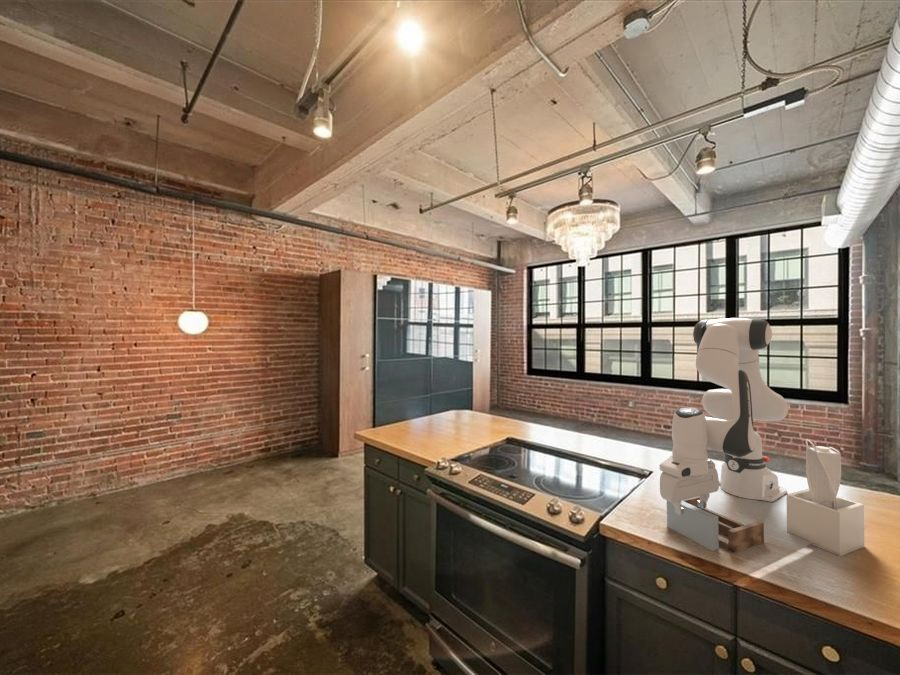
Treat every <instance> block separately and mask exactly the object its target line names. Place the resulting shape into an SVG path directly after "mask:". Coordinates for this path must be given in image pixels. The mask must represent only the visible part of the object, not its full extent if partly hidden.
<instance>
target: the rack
mask: <svg viewBox="0 0 900 675" xmlns="http://www.w3.org/2000/svg"><path fill="white" fill-rule="evenodd" d="M699 499H700V496H697V497H693V498H689V499H685V500H682V501H684V502H686V503H689V504H691V505H693V506H695V507H698V505H697V504H698V503H697V501H699ZM698 508H700V507H698ZM700 509H702V508H700ZM702 510H704V511H707V512H709V513H711V514H713V515H716V516H718V529H719V533H720V534H723V535H725V536H726V537H727V538H728V540H725V539H723V538H721V537H719V547H721V548H723V549H725V550H727V551H729V552H731V553H733V554H734V553H737V552H740V551H742V550H743V551H744V550H746V549H749V548H752V547H755V546H757V545H758V546H759V545H761V544H763V543H765V529H764V527H765V526H764V522H762V521H760V520H758V521H754V522H751V523H748V524H743V523H742V522H738V520H737V521H736V520H734V519H732V518H730V517H727V516H725V515H722V514H720V513H718V512H717V511H713V510H711V509H709V508H707V507H706V508H703V509H702Z"/></svg>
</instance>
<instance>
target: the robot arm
mask: <svg viewBox="0 0 900 675" xmlns="http://www.w3.org/2000/svg"><path fill="white" fill-rule="evenodd" d="M770 325H771V324H770V322H768V321H767V320H766V319H762V318H743V317H730V318H717V319H715V318H714V319H710V318H708V319H701V320H700V321H698V322H697V323H696V324H695V325H694V328H693V331H692V338H693V341H694V343H695V344H696V345H697V346H698V350H697V353H696V357H695V358H696V359H695V368H696V370H697V372H698V373H699V375H700V376H701V377H703V378H704V379H706V381H708V382H711V383H712V384H715V385H717V386H721V387H723V388H716V389H715V388H714V389H708V390H707V391H705V392H704V393H703V396H702V398H701V405H702V408H703V409H704V411H705V412H706V413H708V415H710V416H712V417H710V416H706V415H705V413H704V411H703V410H701V409H699V408H697V407H696V408H695V407H680V408H678V409H675V411H674V412H673V415H672V423H671V440H672V443H673V447H672V450H671V453H672V454H671V455H670V456H669V457H668V458H667V459H666V460H664V461H663V462H661V463H660V464H659V470H660V472H662V473H661V474H660V477H659V493H660V497H661V498H662V499H663V500H665V501H666V502H667V501H669V502H672V504H673V505H674V507H675V513H676V514H678V515H681V514H684V508H682V507H681V506H680V504H681V500H685V499H689V498H693V497H697V496H700V499H699V501H697V503H698V504H697V505H698V507H700V508H702V509H703V508H707V507H708V506H707V505H708V504H707V502H708V501H709V499H710V494H713V493H716V492H718V491H719V489H722V490H723V491H724V492H726V493H727V494H730V495H732V496H736V497H740V498H743V499H749V500H758V501H763V502H771V503H773V502H775V501H777V500H778V499H780V498H781V497H783V496H784V495H785V494H786V495H787V493H788V490H787V489H786V488H784V487H782V486H780V485H779V477H778V475H776V474H775V472H772V470H770V469H769V468H768V467H767V465H766V464H767V463H769V462H770V460H771V459H770V457H769V456H765V455H763V439H762V437H761V435H760V434H759V433H758V432H757V431H755V429H754V428H755V427H754V421H758V422H764V423H765V422H781V421H782V420H784V418H786V417H787V415H788V413H789V404H788V402H787V401H786V399H785V398H784V397H783V395H781V394H779V393H777V392H775V391H774V390H773V389H771V388H770V387H769V386H768V385H767V384H766V383H765V381H764V379H763V377H762V374H761V370H760V361H759V360H760V359H759V351H758V350H762V349H765V348H767V347H768V346H769V345H770V343H771V341H772V338H773V330H772V327H771V326H770ZM707 450H712V451H716V452H720V453H723V461H724V463H722V464H721V472H720V473H721V474H720V479H719V474H718V470H717V468H716V463H715V462H714V461H712V459H709V458H708V457H709V455H708V451H707Z"/></svg>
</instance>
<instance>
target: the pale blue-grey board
mask: <svg viewBox="0 0 900 675" xmlns="http://www.w3.org/2000/svg"><path fill="white" fill-rule="evenodd" d="M680 506H681V507H682V508H684V514H681V515H678V514H676V513H675V507H674V505H673V504H672V502H669V501H667V500H666V526H667V528H669V529H671V530H673V531H675V532H677V533H679V534H680V535H683V536H684V537H685V538H688V539H689V540H692V541H694V542H695V543H697V544H699V545H701V546H703V547H704V548H707V549H709V550H710V551H712V552H713V551H717V550H719V549H720V546H719V538H720V536H719V535H720V534H719V533H720V532H719V529H718V516H716V515H713V514H711V513H709V512H707V511H704V510H702V509H700V508H698V507H695V506H693V505H691V504H689V503H686V502H684V501H682V500H681V504H680Z"/></svg>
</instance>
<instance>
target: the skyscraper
mask: <svg viewBox="0 0 900 675" xmlns="http://www.w3.org/2000/svg"><path fill="white" fill-rule="evenodd" d="M808 442H809V443H810V444H811V446H812V447H809V444H808ZM805 446H806V447H805V448H806V451H805V472H806V480H807V486H808V489H809V491H810V501H811V502H814V503H817V504H820V505H823V506H826V507H829V508H832V509H835V510H838V509H839V508H838V503H837V499H836V496H838V492H839V490H840V485H841V479H842V458H841V456H842V455H841V452H840V451H839V450H838V449H837V448H834V447H833V446H829V447H827V446H822V445H817V446H815V444H814V443H813V442H812V440H810V439H808V438H806V439H805Z"/></svg>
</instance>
